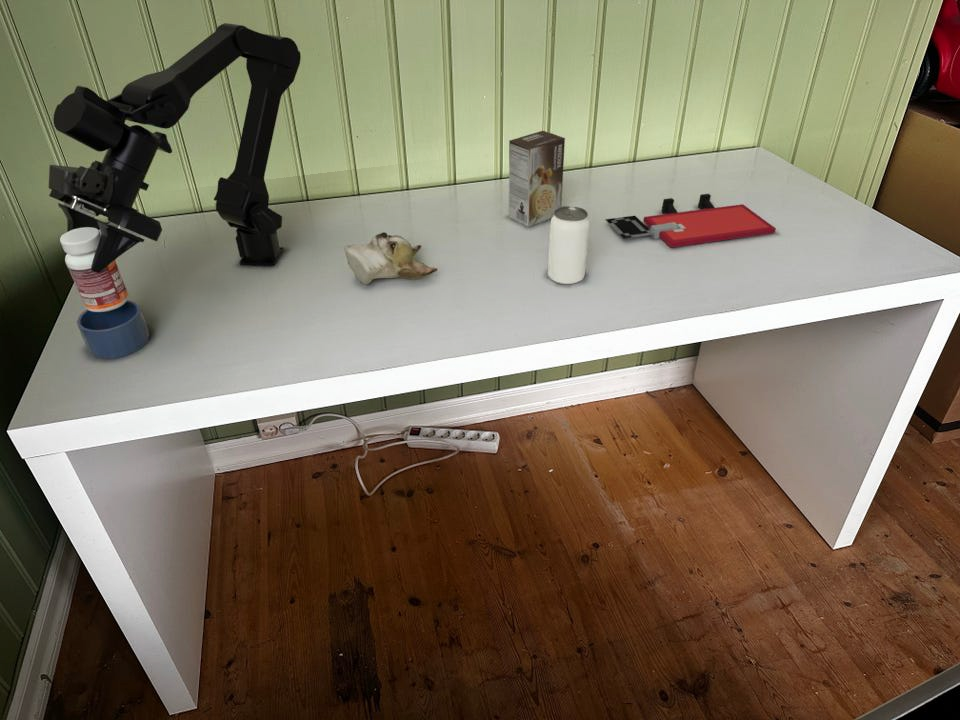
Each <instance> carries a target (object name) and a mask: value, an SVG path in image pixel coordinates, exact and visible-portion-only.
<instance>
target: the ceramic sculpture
mask: <svg viewBox="0 0 960 720" xmlns="http://www.w3.org/2000/svg"><path fill="white" fill-rule="evenodd" d="M421 248H422V245H421V244H417V245H415V246H412V245H411V244H410V242H409V241H408V240H407V239H405V238H404V237H403V236H401V235H398V234H395V235H391V234H388V233H387V232H383V231H382V232H381V233H377V234H376V235H375V236H373V237H372V238H371V240H370V242H369V243H368V244H365V245H357V244H351V245H345V246H344V248H343V249H344V252H345V257H346V261H347V264H348V266H349V268H350V269H351V271H352V272H353V274H354V276H355V279H356V280H357V281H359V282H360V283H362V284H363V285H366V286H367V285H369V284H370V283H371V282H372V281H373V280H375V279H396V278H397V279H398V278H405V279H411V280H418V279H421V278H424V277H427V276H429V275H431V274H433V273H435V272H437V271H438V268H436V267H431V266H428V265H426V264H425V263H423V262H419V261H415V260H414V257H415V256H416V255H417V254H418V253H419V251H420V250H421Z"/></svg>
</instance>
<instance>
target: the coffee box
mask: <svg viewBox="0 0 960 720" xmlns="http://www.w3.org/2000/svg"><path fill="white" fill-rule="evenodd" d="M508 143H509V144H508V145H509V148H508V149H509V151H508V152H509V153H508V154H509V155H508V218H510V219H511V220H513V221H516V222H517V223H520V224H522V225H523V226H525V227H528V228H530V227H534V226H535V225H538V224H540V223H543V222H545V221H548V220H551V219H552V217H553V216H554V211H555V210H556V209H557V208H560V207H562V202H563V201H562V200H563V182H564V166H565V165H564V164H565V147H566V145H565V143H566V137H563V136H560V135H557V134H554V133H552V132H549V131H545V130H540V131H537V132H533V133H530V134H527V135H523V136H519V137H517V138H513V139H509V140H508Z"/></svg>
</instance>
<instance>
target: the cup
mask: <svg viewBox="0 0 960 720" xmlns="http://www.w3.org/2000/svg"><path fill="white" fill-rule="evenodd" d="M76 324H77V328H78V330H79V332H80V334H81V336H82V339H83V341H84V343H85V346H86V348H87V350H88V352H89V353H90V355H91V356H92V357H95V358H97V359H102V360H112V359H119V358H123V357H126V356H129V355H132V354H135V353H136V352H138V351H139V350H141V349H142V348H144V347H145V346H146V345H147V343H148V342H149V340H150V331H149V328H148V326H147V323H146V320H145V318H144V314H143V312H142V309H141V307H140V305H139V304H138V303H137V302H136V301H134V300H133V301H132V300H129V299H128V300H127V301H126V303H125V304H123V305H122V306H121V307H119V308H117V309H114V310H111V311H106V312H92V311H90V310H88V309H87V308H86V310H84V311H83V312H82V313H81V314H79V316H78V318H77V320H76Z"/></svg>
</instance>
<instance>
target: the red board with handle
mask: <svg viewBox="0 0 960 720" xmlns="http://www.w3.org/2000/svg"><path fill="white" fill-rule="evenodd" d="M711 197H712V195H711V194H710V193H703V194H700V195H699V200H698V205H697V208H698V209H695V210H687V211H679V212H678V211H677V209H676V207H675V206H674V203H675V199H674V198H673V197H670V198H663V201H662V206H661V211H660V212H661V214H656V215H647V216H643V220H642V221H641V220H640V219H639V217H637V216H636V215H627V216H621V217H619V216H618V217H613V218H605V219H604V220H605V221H606V222H607V223H608V224H609V226H611V227H612V228H613V229H614V231H616V232H617V234H619V236H621V238H622V239H625V240H626V239H631V238H639V237H647V236H650V237H651V238H652V239H654V240H656V239H661V240H662V241H663V242H664V243H666V244H667V246H669V248H677V247H683V246H691V245H698V244H705V243H713V242H720V241H726V240H734V239H741V238H749V237H755V236H762V235H770V234H775V233H776V230H777V228H776V227H775V226H773V225H772V224H770V223H769V222H768V221H767V220H765V219H764V218H762V217H761V216H760V215H758V214H757V213H756V212H754V211H753V210H752V209H750V208H749V207H748V206H747V205H744V204H733V205H726V206H718V207H715V206H714V204H713V203H712V201H711Z"/></svg>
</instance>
